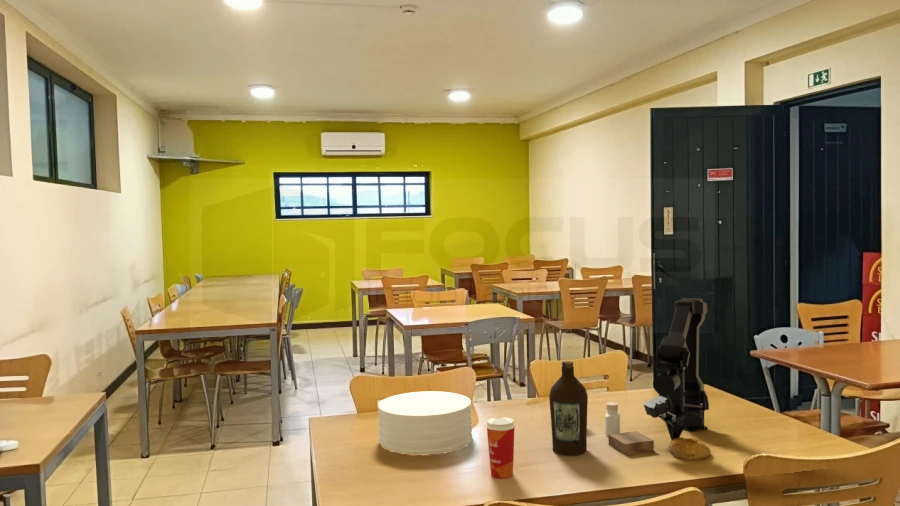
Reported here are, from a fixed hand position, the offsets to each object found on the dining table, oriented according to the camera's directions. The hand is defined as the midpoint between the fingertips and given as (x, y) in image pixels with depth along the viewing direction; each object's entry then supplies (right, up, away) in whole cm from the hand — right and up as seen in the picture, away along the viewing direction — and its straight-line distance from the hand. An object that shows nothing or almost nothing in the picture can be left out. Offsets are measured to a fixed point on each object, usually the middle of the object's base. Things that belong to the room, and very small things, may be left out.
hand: (674, 442), depth 188 cm
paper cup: (-49, -4, -16) cm, 52 cm away
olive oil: (-29, -3, +1) cm, 29 cm away
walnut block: (-12, -2, +2) cm, 12 cm away
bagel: (+3, -2, -5) cm, 6 cm away
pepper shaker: (-14, -2, +14) cm, 19 cm away
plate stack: (-70, -4, +15) cm, 72 cm away
